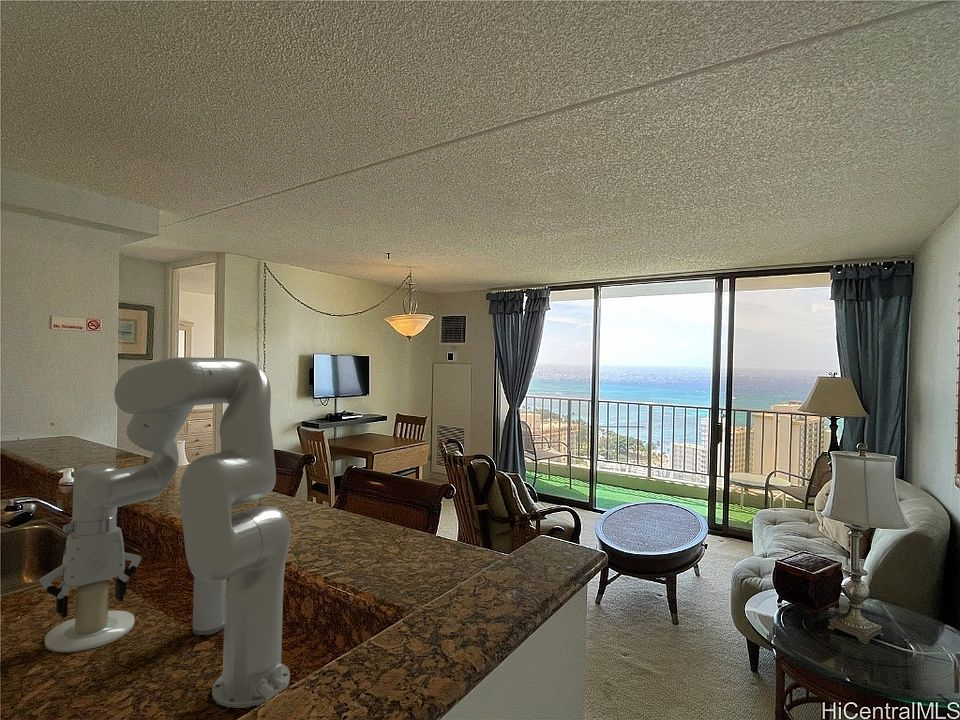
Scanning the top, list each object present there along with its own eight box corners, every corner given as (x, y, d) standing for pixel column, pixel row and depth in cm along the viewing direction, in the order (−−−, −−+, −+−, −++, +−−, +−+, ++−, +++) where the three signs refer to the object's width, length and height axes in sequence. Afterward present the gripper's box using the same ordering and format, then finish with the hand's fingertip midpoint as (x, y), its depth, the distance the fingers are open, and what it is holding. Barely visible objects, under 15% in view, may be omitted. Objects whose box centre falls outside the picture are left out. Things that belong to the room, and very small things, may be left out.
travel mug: (184, 632, 109) (187, 537, 109) (213, 618, 115) (215, 529, 115) (203, 640, 106) (206, 542, 106) (231, 626, 112) (234, 534, 112)
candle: (79, 637, 104) (81, 587, 104) (71, 628, 107) (72, 580, 108) (111, 626, 108) (113, 579, 109) (102, 618, 112) (104, 572, 112)
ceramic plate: (144, 631, 109) (144, 626, 109) (53, 661, 98) (54, 655, 98) (122, 608, 119) (122, 603, 119) (37, 633, 107) (37, 628, 107)
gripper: (45, 539, 99) (42, 628, 99) (147, 520, 112) (145, 599, 112) (37, 530, 104) (34, 615, 104) (136, 513, 117) (134, 588, 117)
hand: (92, 607), depth 108 cm, fingers open, 9 cm apart
